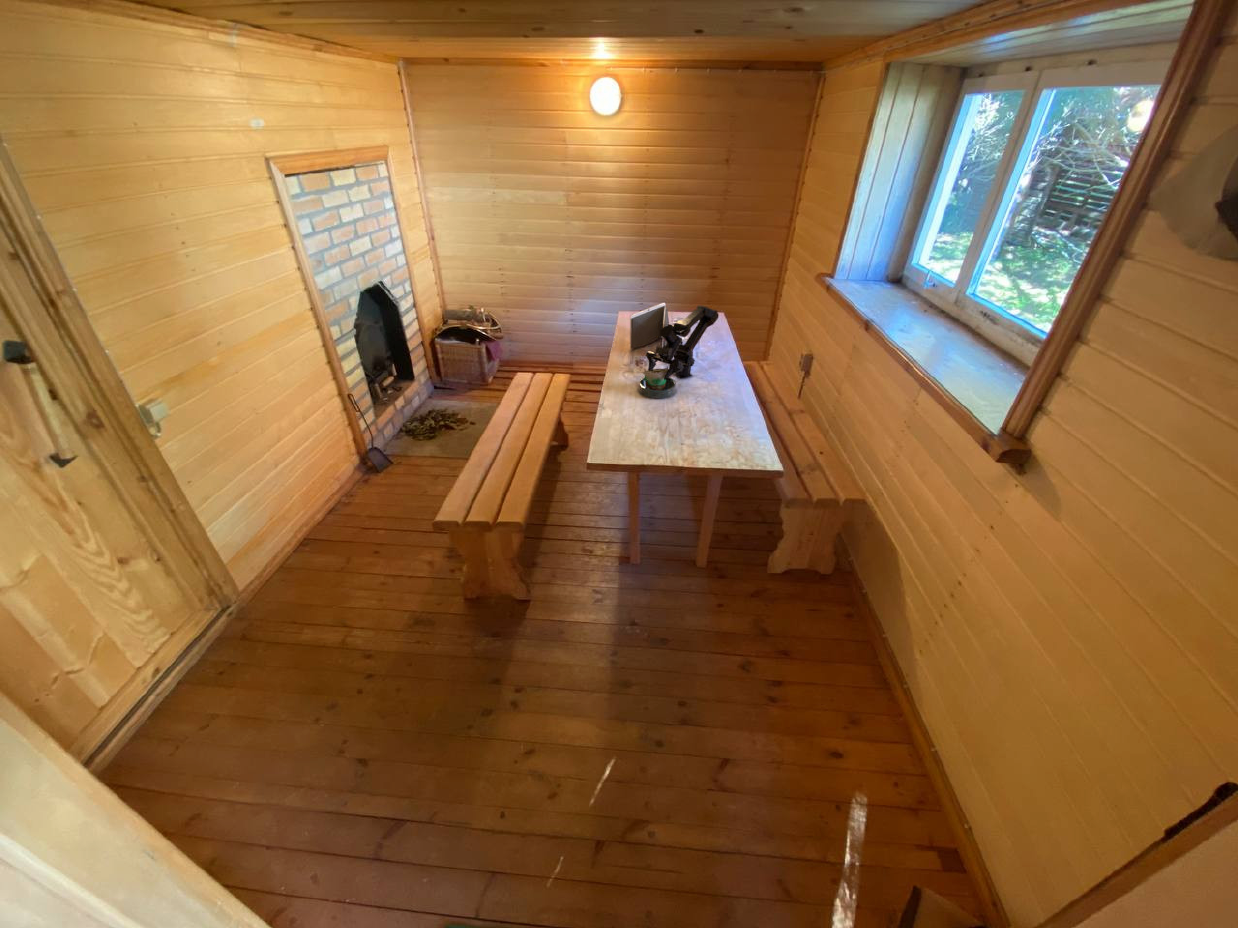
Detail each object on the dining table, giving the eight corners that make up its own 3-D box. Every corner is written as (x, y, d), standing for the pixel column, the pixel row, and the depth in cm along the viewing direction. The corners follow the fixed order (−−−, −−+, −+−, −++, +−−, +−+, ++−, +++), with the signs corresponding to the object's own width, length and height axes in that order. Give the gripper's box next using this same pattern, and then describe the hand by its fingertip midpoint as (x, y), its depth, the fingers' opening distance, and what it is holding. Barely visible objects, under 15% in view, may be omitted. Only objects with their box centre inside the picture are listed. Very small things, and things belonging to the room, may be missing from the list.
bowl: (664, 380, 251) (665, 372, 249) (681, 394, 238) (682, 387, 236) (633, 386, 245) (633, 378, 243) (648, 401, 232) (649, 393, 230)
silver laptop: (668, 359, 272) (671, 323, 261) (628, 357, 273) (629, 322, 262) (668, 335, 301) (670, 302, 290) (631, 334, 302) (632, 301, 291)
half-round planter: (646, 394, 238) (647, 375, 232) (642, 388, 242) (643, 369, 236) (671, 391, 240) (672, 371, 234) (667, 385, 245) (668, 366, 239)
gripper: (648, 334, 235) (633, 364, 235) (682, 344, 226) (666, 375, 225) (657, 345, 245) (642, 374, 244) (690, 355, 235) (675, 385, 234)
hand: (656, 377), depth 237 cm, fingers open, 9 cm apart
